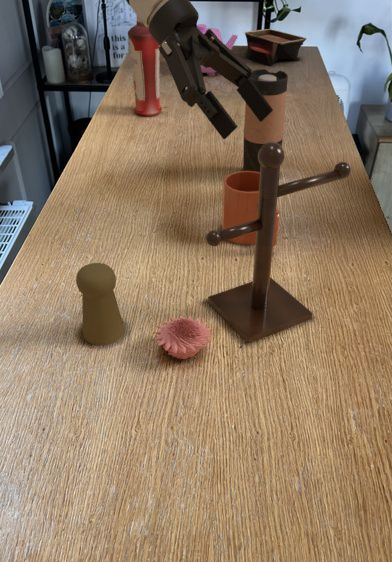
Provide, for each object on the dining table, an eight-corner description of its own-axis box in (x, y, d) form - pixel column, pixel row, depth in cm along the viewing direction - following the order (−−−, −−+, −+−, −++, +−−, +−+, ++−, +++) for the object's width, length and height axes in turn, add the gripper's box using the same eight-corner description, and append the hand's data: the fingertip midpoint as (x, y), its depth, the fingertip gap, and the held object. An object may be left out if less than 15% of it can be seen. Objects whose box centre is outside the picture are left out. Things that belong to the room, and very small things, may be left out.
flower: (217, 339, 82) (218, 307, 79) (205, 378, 77) (205, 346, 73) (163, 331, 84) (161, 300, 80) (147, 369, 78) (144, 337, 74)
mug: (213, 230, 105) (214, 177, 98) (251, 218, 108) (254, 166, 101) (253, 264, 97) (257, 209, 90) (293, 250, 100) (300, 196, 93)
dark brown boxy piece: (275, 57, 192) (272, 23, 186) (312, 61, 179) (311, 24, 173) (239, 68, 187) (236, 33, 181) (275, 73, 174) (272, 36, 168)
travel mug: (252, 189, 117) (259, 83, 104) (235, 173, 122) (239, 71, 109) (286, 181, 119) (296, 78, 106) (267, 167, 125) (275, 66, 111)
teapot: (166, 78, 170) (164, 30, 161) (171, 65, 179) (169, 19, 171) (235, 79, 169) (237, 30, 160) (236, 66, 178) (238, 19, 169)
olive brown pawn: (123, 318, 86) (116, 254, 79) (127, 345, 82) (119, 279, 74) (82, 323, 85) (70, 258, 78) (83, 350, 81) (71, 284, 74)
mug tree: (306, 269, 95) (328, 109, 78) (351, 305, 88) (387, 136, 71) (187, 311, 87) (183, 142, 70) (226, 354, 80) (233, 177, 63)
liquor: (130, 111, 150) (120, -16, 132) (157, 107, 152) (151, -19, 134) (139, 121, 145) (129, -10, 126) (167, 117, 147) (161, -13, 128)
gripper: (190, 24, 102) (264, 124, 104) (104, 37, 84) (196, 158, 86) (218, -11, 97) (295, 94, 99) (133, -6, 79) (230, 123, 81)
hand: (249, 124), depth 93 cm, fingers open, 13 cm apart
